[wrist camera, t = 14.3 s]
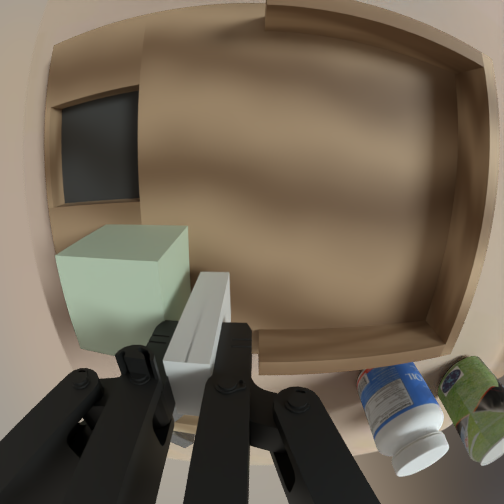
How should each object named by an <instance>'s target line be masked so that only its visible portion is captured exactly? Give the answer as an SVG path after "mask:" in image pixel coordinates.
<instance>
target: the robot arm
mask: <svg viewBox="0 0 504 504" xmlns="http://www.w3.org/2000/svg"><path fill="white" fill-rule="evenodd" d="M115 357H116V360H117V363H118V366H119V368H120V371H121V376H120V377H117V378H105V379H99V378H98V375H97V373H96V372H94V371H93V370H91V369H88V368H80V369H77V370H74V371H72V372H71V373H70V374H68V375H67V376H66V377H65V378H64V379H63V380H62V381H61V382H60V383H59V384H58V385H57V386H56V387H55V388H54V389H52V390H51V391H50V392H49V393H48V394H47V395H46V396H45V397H44V398H43V399H42V400H41V401H40V402H39V403H38V404H37V405H36V406H35V407H34V408H33V409H32V410H31V411H30V412H29V413H28V414H27V415H26V416H25V417H24V418H23V419H22V420H21V421H20V422H19V423H18V424H17V425H16V426H15V427H14V428H13V429H12V430H11V431H10V432H9V433H8V434H7V435H6V436H5V437H4V438H3V439H2V440H1V441H0V504H155V503H156V498H157V494H158V490H159V486H160V482H161V477H162V473H163V469H164V465H165V461H166V457H167V453H168V449H169V445H170V441H171V437H172V433H173V429H174V418H173V411H174V408H175V407H176V410H177V413H178V414H183V415H192V416H199V419H198V424H197V429H196V435H195V440H194V445H193V451H192V456H191V462H190V467H189V473H188V479H187V485H186V490H185V496H184V502H183V504H248V497H249V459H250V446H253V447H257V448H261V449H264V450H268V451H270V453H271V456H272V459H273V462H274V465H275V467H276V470H277V473H278V476H279V478H280V481H281V483H282V486H283V489H284V492H285V494H286V497H287V499H288V502H289V504H381V503H380V502H379V500H378V499H377V497H376V495H375V494H374V492H373V490H372V488H371V487H370V485H369V483H368V482H367V480H366V478H365V476H364V475H363V473H362V471H361V470H360V468H359V466H358V465H357V463H356V461H355V460H354V458H353V456H352V454H351V452H350V451H349V449H348V447H347V446H346V444H345V442H344V440H343V439H342V437H341V435H340V433H339V432H338V430H337V428H336V426H335V425H334V423H333V421H332V419H331V418H330V416H329V414H328V412H327V411H326V409H325V407H324V405H323V404H322V402H321V400H320V398H319V397H318V396H317V395H316V394H315V393H314V392H313V391H311V390H309V389H307V388H303V387H289V388H286V389H284V390H282V391H280V392H279V393H278V394H277V393H273V392H269V391H266V390H263V389H261V388H260V387H258V386H257V385H256V384H255V383H254V382H253V380H252V378H251V371H252V330H251V328H250V327H249V325H248V324H247V323H237V322H231V306H230V278H229V272H200V275H199V277H198V279H197V281H196V283H195V286H194V288H193V290H192V292H191V295H190V297H189V299H188V302H187V304H186V306H185V308H184V311H183V313H182V315H181V318H180V320H179V321H172V320H165V321H162V322H161V323H160V324H159V325H157V326H156V328H155V330H154V332H153V333H152V336H151V337H150V339H149V342H148V343H147V345H146V346H144V345H130V346H126V347H124V348H122V349H120V350H119V351H118V352H117V353H116V354H115ZM82 418H83V419H84V421H82V422H81V423H78V422H79V421H80V420H81V419H82Z"/></svg>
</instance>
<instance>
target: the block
mask: <svg viewBox="0 0 504 504" xmlns="http://www.w3.org/2000/svg"><path fill="white" fill-rule="evenodd" d="M55 258H56V263H57V268H58V273H59V277H60V281H61V285H62V289H63V293H64V297H65V301H66V304H67V308H68V311H69V315H70V318H71V321H72V324H73V327H74V330H75V333H76V336H77V339H78V342H79V345H80V348H81V349H85V350H89V351H94V352H98V353H103V354H108V355H113V356H115V354H116V353H117V352H118V351H119V350H120V349H122V348H124V347H126V346H130V345H144V346H146V345H147V343H148V342H149V339H150V337H151V336H152V333H153V332H154V330H155V328H156V326H157V325H159V324H160V323H161V322H162V321H165V320H172V321H179V320H180V318H181V315H182V313H183V311H184V308H185V306H186V304H187V302H188V299H189V297H190V295H191V286H190V268H189V244H188V226H177V225H104V226H103V227H101V228H99V229H97V230H96V231H94V232H92V233H91V234H89V235H87V236H85V237H84V238H82V239H80V240H79V241H77V242H76V243H74V244H72V245H71V246H69V247H67V248H66V249H64V250H63V251H61V252H60V253H58V254H56V255H55Z"/></svg>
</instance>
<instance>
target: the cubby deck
mask: <svg viewBox="0 0 504 504" xmlns="http://www.w3.org/2000/svg"><path fill="white" fill-rule="evenodd" d="M499 152H500V129H499V109H498V97H497V88H496V80H495V74H494V68H493V62H492V59H491V58H490V57H488V56H486V55H485V54H483V53H482V52H480V51H478V50H477V49H475V48H473V47H471V46H470V45H468V44H466V43H464V42H462V41H461V40H459V39H457V38H455V37H453V36H451V35H449V34H447V33H445V32H443V31H441V30H438V29H436V28H434V27H432V26H429V25H427V24H425V23H422V22H420V21H417V20H415V19H412V18H410V17H407V16H404V15H402V14H399V13H396V12H393V11H390V10H387V9H383V8H380V7H377V6H373V5H369V4H366V3H362V2H358V1H354V0H266V3H232V4H214V5H202V6H193V7H185V8H178V9H172V10H166V11H161V12H155V13H151V14H146V15H142V16H137V17H133V18H130V19H126V20H122V21H119V22H115V23H112V24H109V25H105V26H102V27H99V28H96V29H94V30H91V31H88V32H85V33H83V34H80V35H78V36H75V37H73V38H70V39H68V40H65V41H63V42H61V43H59V44H56V45H54V47H53V52H52V58H51V64H50V70H49V77H48V85H47V95H46V107H45V128H44V156H45V178H46V190H47V201H48V209H49V217H50V224H51V230H52V236H53V242H54V247H55V252H56V254H58V253H60V252H61V251H63V250H64V249H66V248H67V247H69V246H71V245H72V244H74V243H76V242H77V241H79V240H80V239H82V238H84V237H85V236H87V235H89V234H91V233H92V232H94V231H96V230H97V229H99V228H101V227H103V226H104V225H177V226H188V244H189V268H190V286H191V292H192V290H193V288H194V286H195V283H196V281H197V279H198V277H199V275H200V272H229V278H230V306H231V322H237V323H247V324H248V325H249V327H250V328H251V330H252V354H258V356H259V375H298V374H318V373H332V372H344V371H354V370H363V369H371V368H378V367H385V366H392V365H398V364H404V363H410V362H415V361H421V360H426V359H430V358H435V357H440V356H444V355H448V354H451V351H452V349H453V347H454V345H455V343H456V341H457V338H458V336H459V334H460V331H461V329H462V326H463V324H464V321H465V319H466V316H467V314H468V311H469V308H470V305H471V303H472V300H473V297H474V294H475V291H476V288H477V284H478V281H479V278H480V274H481V271H482V267H483V263H484V259H485V255H486V251H487V247H488V243H489V238H490V233H491V228H492V222H493V216H494V210H495V203H496V195H497V185H498V173H499Z"/></svg>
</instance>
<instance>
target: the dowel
mask: <svg viewBox="0 0 504 504" xmlns="http://www.w3.org/2000/svg"><path fill="white" fill-rule="evenodd" d="M198 419H199V416H192V415H183V416H182V417H181V418H179V419H178V420H177V421H176V422H174V429H173V431H179V432H185V433H191V434H196V429H197V424H198Z"/></svg>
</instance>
